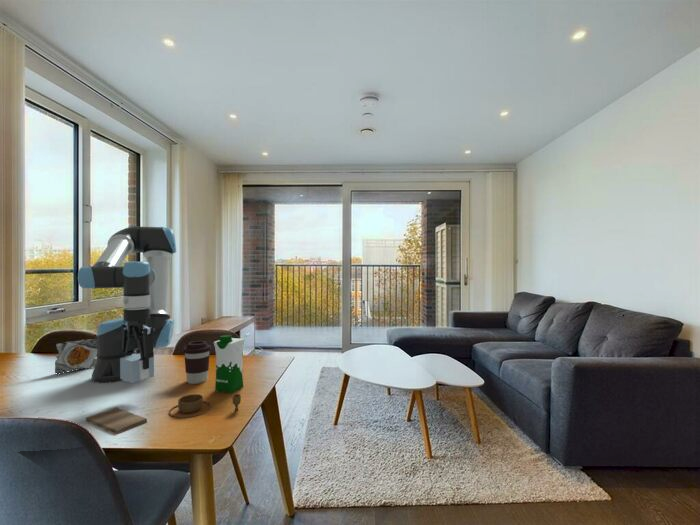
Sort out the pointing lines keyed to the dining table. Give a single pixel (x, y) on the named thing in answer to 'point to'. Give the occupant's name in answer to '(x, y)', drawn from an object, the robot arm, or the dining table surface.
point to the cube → (133, 368)
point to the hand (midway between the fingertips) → (137, 376)
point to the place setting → (198, 404)
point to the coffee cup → (197, 361)
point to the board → (116, 420)
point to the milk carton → (228, 364)
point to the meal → (76, 355)
